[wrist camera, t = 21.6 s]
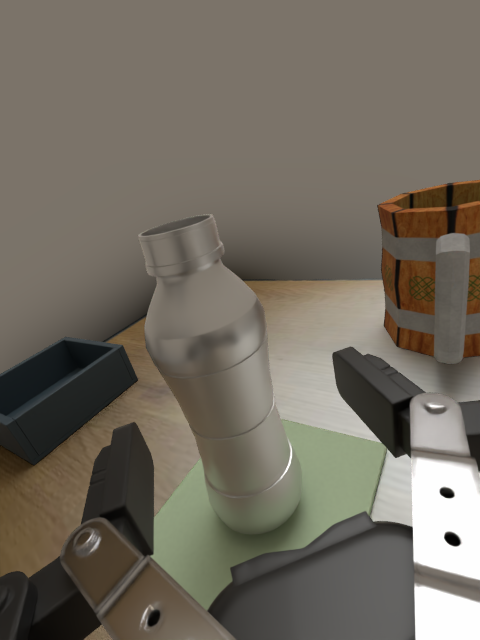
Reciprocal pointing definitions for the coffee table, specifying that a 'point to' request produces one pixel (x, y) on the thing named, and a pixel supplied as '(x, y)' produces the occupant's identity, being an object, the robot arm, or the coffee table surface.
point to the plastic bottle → (220, 374)
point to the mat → (297, 532)
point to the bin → (59, 393)
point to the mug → (433, 270)
